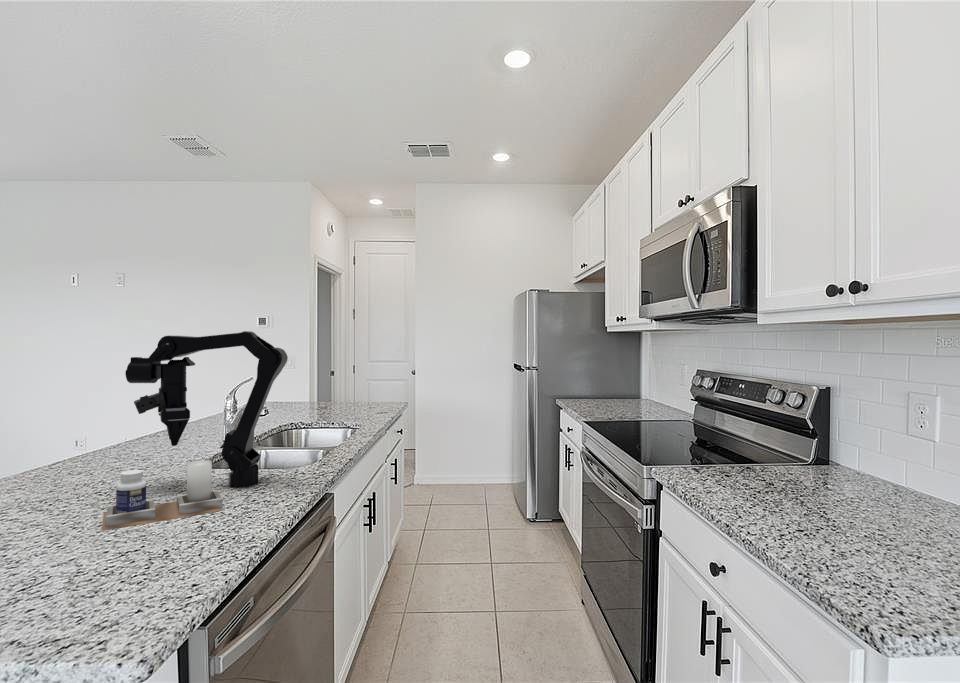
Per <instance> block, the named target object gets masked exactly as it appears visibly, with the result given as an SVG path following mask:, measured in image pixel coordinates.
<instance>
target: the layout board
mask: <svg viewBox="0 0 960 683" xmlns="http://www.w3.org/2000/svg"><path fill="white" fill-rule="evenodd" d="M218 512H223V497H222V496H221V494H220V493H219V491H218V489H213V490H212V489H211V500H204V501H198V502H191V503H187V493H185V494H177V495H176V501H170V502H162V503H157V504H155V499H154V498H151V499H146V510H140V511H133V512H127V513H120V514H116V503H115V504H108V505H107V509H106V511H104V512H103V515H102V516H103V517H102V522H101V528H100V531H101V532H105V531H111V530H112V531H113V530H117V529H122V528H129V527H134V526H141V525H147V524H151V523H156V522H157V523H159V522H164V521H169V520H177V519H181V518H188V517H193V516H200V515H206V514H212V513H218Z"/></svg>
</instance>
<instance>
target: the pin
mask: <svg viewBox="0 0 960 683" xmlns="http://www.w3.org/2000/svg"><path fill="white" fill-rule="evenodd" d="M212 464H213V463H212V460H209V459H208V460H207V459H205V460H204V459H203V460H196V461H191V462H188V463H187V464H186V494H187V503H191V502H198V501H204V500H211V490H212V483H213V482H212V477H213V476H212V475H213V474H212V473H213V472H212V469H213V468H212V466H213V465H212Z"/></svg>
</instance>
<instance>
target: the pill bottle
mask: <svg viewBox="0 0 960 683" xmlns="http://www.w3.org/2000/svg"><path fill="white" fill-rule="evenodd" d="M143 474H144V471H143V470H142V469H129V470H124V471H121V472H120V480H121V482H119V483H118V484H116V487H115V489H116V492H115V504H116V514H120V513H127V512H133V511H140V510H146V500H147V482H146V480H145V479H143V476H144V475H143Z"/></svg>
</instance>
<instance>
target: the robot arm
mask: <svg viewBox="0 0 960 683" xmlns="http://www.w3.org/2000/svg"><path fill="white" fill-rule="evenodd" d="M234 347H235V348H238V347H244V348H245V349H247V350H248V352H249V353H250V354H251V355H253V357H255V358H256V359H258V362H257V368H256V371H257V372H256V379H255V382H254V385H253V387H252V389H251V392H250V394H249V396H248V399H247V402H246V405H245V408H244V409H243V412H242V415H241V418H240V419H239V422H238V425H237V427H236V429H232V430H230V431H228V432H226V434H225V437H224V440H223V443H222V445H220V448H219V449H221V452H220V453H221V457H222V459H223V461H225V462H226V463H227V465H228V468H229V470H230V472H229V473H228V486H229V488H231V489H232V488H233V489H234V488H249V487H253V486H255V485H258V484H259V465H258V463H260V459H261V454H260V453H259V452H258V451H257V450H256V449H255V448H253V445H254V441H255V429H256V426H257V423H258V421H259V418H260V416H261V414H262V411H263V408H264V406H265V404H266V401H267V399H268V396H269V395H270V394H269V393H270V391H271V390H272V386H273V383H274V382H275V380H276V379H277V377H278V376H279V374H280V373H281V372H282V371H283V369H284V367H285V365H286V364H287V363H288V360H289V357H288V354H287V351H285V349H282V348H280V347H275V346H274V345H272V344H271V343H269V342H267V341H266V340H264V338H261V337H260V336H259V335H257V334H256V333H255V332H254V331H252V330H251V331H248V330H246V331H245V330H244V331H241V332H234V333H232V332H231V333H225V334H213V335H205V336H203V335H202V336H190V335H164V336H163V337H161V338H160V339H159V341H158V343H157V347H156V348H155V349H154V351H152V353H151V354H150V355H149V356H148V357H142V356H131V357H130V362H129V363H128V365H127V366H126V370H125V378H126V381H127V382H128V383H129V384H156V383H157V382H158V380H160V387H159V388H158V392H157V393H154V394H150V395H147V394H146V395H143V396H140V397H139V399H136V400H133V404H134V405H135V408H136V410H137V412H138V414H139V415H141V414H142V415H143V414H144V413H146V412H147V411H150V410H153V409H155V408H157V413H158V416H159V417H160V422H161V424H162V423H163V424H164V425H165V426H166V430H167V434H168V439H169V440H170V444H171V446H172V447H176V446H178V444H179V442H180V439H181V437H182V435H183V432H184V430H185V429H186V427H187V425H188V423H189V420H190V419H191V410H190V409H189V408H188V406H187V404H188V402H187V392H188V387H187V367H192V366H195V365H196V363H195V362H194V361H193V360H191V359H190V357H189V355H191V354H195V353H196V354H197V353H199V352H202V351H207V350H217V349H218V350H219V349H226V348H227V349H228V348H234ZM182 357H183V358H182ZM175 358H182V359H175ZM164 361H165V362H166V361H168V362H167V363H162V362H164Z"/></svg>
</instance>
